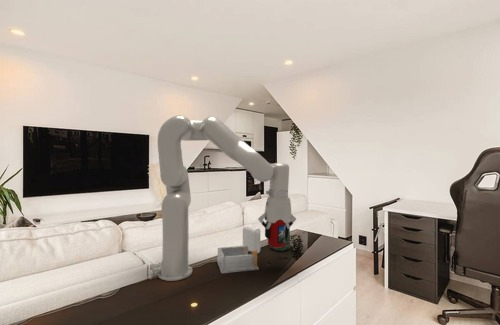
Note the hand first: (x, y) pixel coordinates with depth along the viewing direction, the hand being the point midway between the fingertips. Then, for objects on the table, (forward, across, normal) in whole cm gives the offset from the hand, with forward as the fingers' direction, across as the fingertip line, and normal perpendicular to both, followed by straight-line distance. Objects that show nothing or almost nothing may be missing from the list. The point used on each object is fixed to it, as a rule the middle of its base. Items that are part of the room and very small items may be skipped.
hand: (276, 237), depth 103 cm
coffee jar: (+12, +11, +22) cm, 28 cm away
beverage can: (+4, 0, 0) cm, 4 cm away
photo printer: (+13, -4, +23) cm, 27 cm away
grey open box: (+13, -14, +8) cm, 21 cm away
